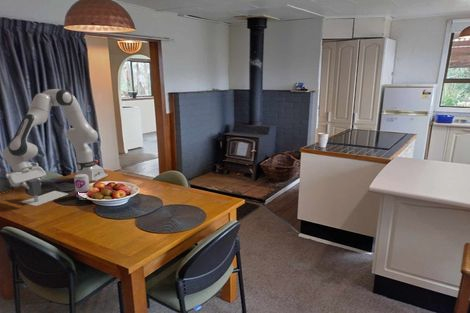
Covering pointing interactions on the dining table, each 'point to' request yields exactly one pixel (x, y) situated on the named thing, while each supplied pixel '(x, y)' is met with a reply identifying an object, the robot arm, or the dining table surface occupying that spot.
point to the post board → (44, 198)
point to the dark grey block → (34, 187)
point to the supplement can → (81, 184)
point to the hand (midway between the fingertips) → (34, 186)
